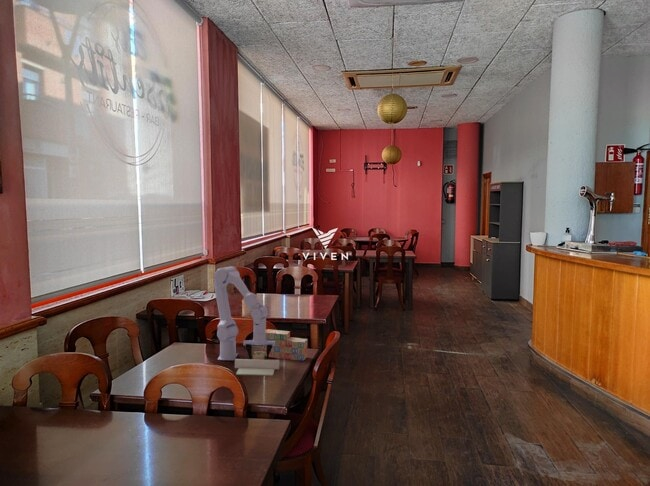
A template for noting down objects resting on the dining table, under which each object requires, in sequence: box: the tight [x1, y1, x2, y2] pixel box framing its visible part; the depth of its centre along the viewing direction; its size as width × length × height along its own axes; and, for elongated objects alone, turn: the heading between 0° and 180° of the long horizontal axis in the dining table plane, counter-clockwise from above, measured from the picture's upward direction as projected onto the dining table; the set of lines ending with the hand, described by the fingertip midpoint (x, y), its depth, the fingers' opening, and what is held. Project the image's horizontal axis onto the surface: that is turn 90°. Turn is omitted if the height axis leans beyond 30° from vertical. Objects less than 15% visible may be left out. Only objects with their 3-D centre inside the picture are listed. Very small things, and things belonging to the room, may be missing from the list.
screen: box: [234, 358, 280, 370], centre depth 200 cm, size 1×20×4 cm, turn 91°
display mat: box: [235, 368, 275, 377], centre depth 195 cm, size 7×16×1 cm, turn 91°
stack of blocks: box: [262, 328, 308, 362], centre depth 217 cm, size 21×6×12 cm, turn 75°
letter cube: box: [252, 351, 266, 360], centre depth 207 cm, size 5×5×5 cm
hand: (258, 360), depth 207 cm, fingers open, 7 cm apart
